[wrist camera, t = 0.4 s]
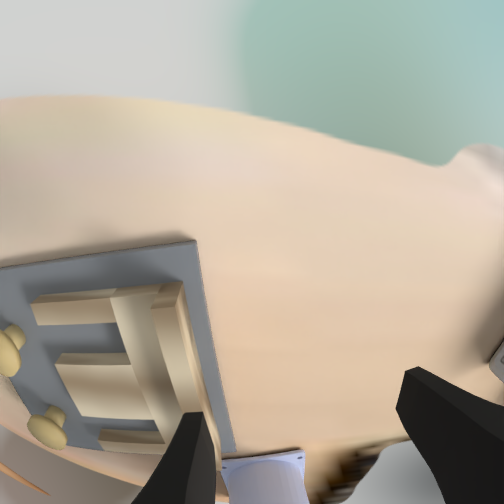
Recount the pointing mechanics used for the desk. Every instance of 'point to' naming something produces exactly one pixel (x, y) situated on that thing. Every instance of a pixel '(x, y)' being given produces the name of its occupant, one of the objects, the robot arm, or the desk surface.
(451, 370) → the desk surface
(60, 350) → the keyhole board
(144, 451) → the panel
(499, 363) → the digital clock
